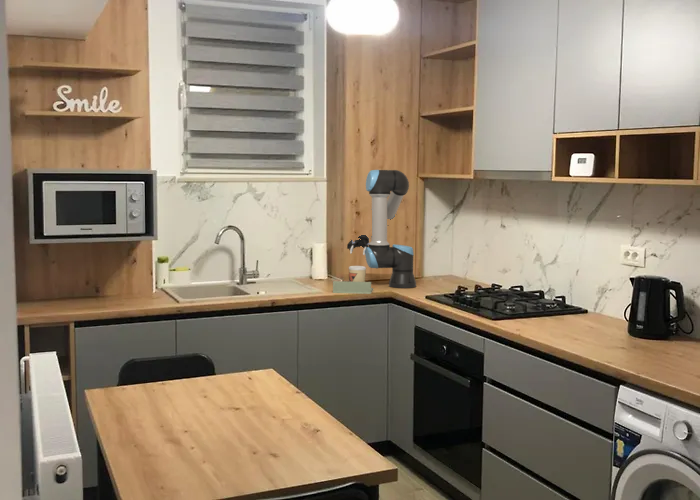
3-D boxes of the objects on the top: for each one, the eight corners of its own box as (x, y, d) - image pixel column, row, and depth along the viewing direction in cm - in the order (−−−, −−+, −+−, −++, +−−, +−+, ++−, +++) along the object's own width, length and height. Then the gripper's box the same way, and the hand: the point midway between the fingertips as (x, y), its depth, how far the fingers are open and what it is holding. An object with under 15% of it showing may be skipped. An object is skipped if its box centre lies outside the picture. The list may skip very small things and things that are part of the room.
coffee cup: (345, 288, 404) (345, 266, 402) (360, 287, 408) (360, 265, 407) (353, 290, 395) (354, 268, 394) (368, 289, 400) (369, 267, 399)
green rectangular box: (373, 289, 407) (373, 278, 406) (370, 293, 393) (370, 282, 392) (336, 289, 409) (336, 278, 408) (332, 292, 395) (333, 281, 395)
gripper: (378, 247, 439) (374, 260, 418) (345, 244, 442) (339, 256, 420) (379, 235, 437) (375, 247, 415) (346, 232, 439) (340, 243, 418)
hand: (357, 251), depth 418 cm, fingers open, 7 cm apart
